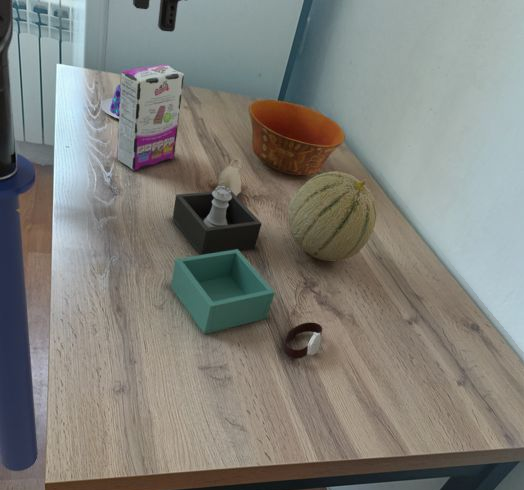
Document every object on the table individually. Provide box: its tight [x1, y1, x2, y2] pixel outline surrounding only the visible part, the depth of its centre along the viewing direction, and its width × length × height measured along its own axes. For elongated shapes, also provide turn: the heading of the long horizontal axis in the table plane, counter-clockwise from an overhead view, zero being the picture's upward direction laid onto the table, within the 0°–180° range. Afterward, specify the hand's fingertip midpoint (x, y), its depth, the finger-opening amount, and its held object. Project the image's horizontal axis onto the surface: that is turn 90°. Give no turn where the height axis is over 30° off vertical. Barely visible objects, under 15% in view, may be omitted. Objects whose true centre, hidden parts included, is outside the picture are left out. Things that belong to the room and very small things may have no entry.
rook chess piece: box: [203, 185, 232, 228], centre depth 89 cm, size 4×4×8 cm
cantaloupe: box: [287, 171, 377, 262], centre depth 92 cm, size 15×15×15 cm
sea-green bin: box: [170, 249, 276, 335], centre depth 78 cm, size 11×11×5 cm
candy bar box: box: [116, 64, 185, 171], centre depth 100 cm, size 11×5×16 cm, turn 143°
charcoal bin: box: [171, 190, 262, 255], centre depth 91 cm, size 11×11×5 cm
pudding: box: [100, 84, 120, 120], centre depth 116 cm, size 12×12×5 cm
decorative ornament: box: [217, 157, 242, 197], centre depth 102 cm, size 4×8×5 cm, turn 160°
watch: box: [283, 321, 323, 360], centre depth 76 cm, size 8×5×4 cm, turn 147°
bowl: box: [248, 99, 346, 176], centre depth 116 cm, size 21×21×10 cm
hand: (153, 18), depth 76 cm, fingers open, 8 cm apart
